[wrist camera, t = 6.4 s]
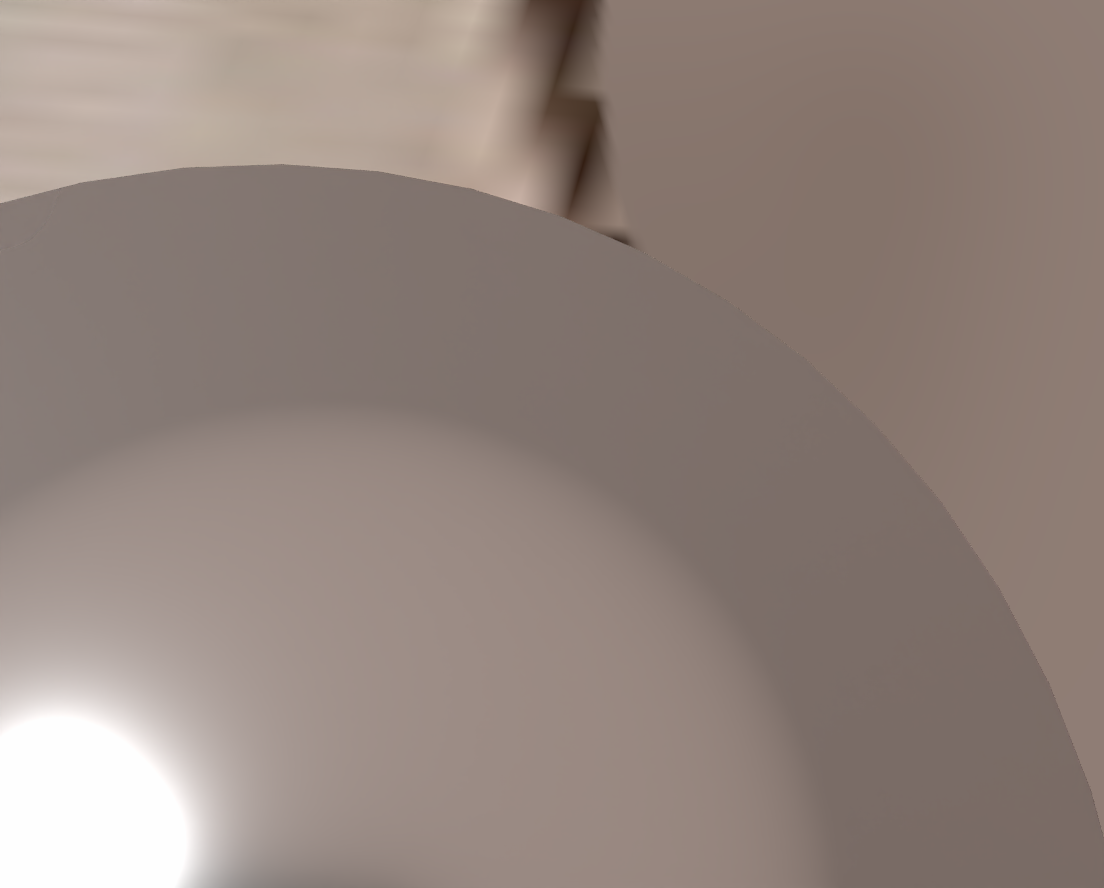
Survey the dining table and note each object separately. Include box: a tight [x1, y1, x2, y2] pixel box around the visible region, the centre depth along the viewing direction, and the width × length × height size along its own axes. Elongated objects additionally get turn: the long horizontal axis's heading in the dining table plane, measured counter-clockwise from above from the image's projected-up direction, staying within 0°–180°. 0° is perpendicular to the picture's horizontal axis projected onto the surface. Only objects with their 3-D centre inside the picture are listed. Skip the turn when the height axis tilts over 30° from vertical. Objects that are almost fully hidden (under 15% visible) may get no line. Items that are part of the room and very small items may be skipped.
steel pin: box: [0, 164, 1104, 888], centre depth 8 cm, size 4×4×12 cm
